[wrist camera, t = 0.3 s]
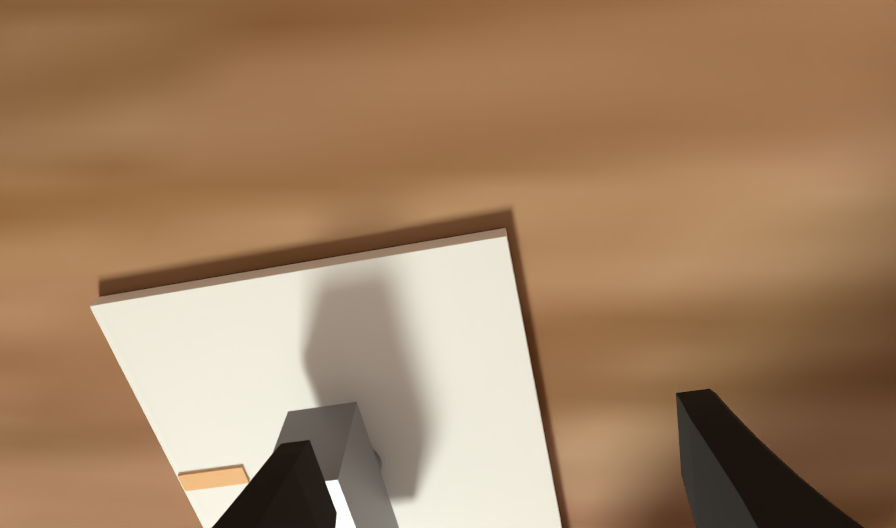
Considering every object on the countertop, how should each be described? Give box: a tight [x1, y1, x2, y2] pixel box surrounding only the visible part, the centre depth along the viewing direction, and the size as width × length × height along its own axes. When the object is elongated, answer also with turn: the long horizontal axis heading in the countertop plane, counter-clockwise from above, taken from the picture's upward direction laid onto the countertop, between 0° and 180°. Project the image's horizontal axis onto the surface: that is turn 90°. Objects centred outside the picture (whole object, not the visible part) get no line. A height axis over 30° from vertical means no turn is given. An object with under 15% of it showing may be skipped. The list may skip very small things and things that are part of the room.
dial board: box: [90, 228, 562, 528], centre depth 27 cm, size 16×14×1 cm
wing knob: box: [272, 402, 399, 528], centre depth 24 cm, size 7×2×5 cm, turn 12°
